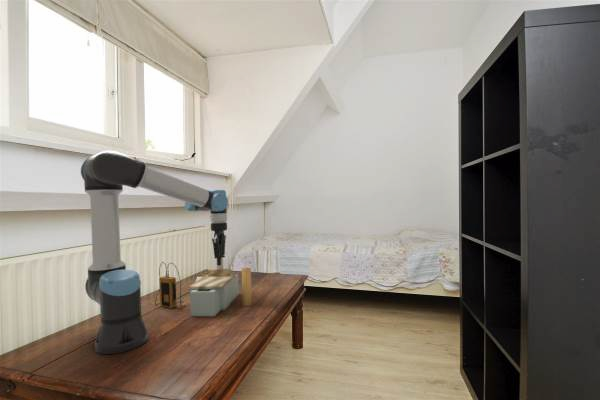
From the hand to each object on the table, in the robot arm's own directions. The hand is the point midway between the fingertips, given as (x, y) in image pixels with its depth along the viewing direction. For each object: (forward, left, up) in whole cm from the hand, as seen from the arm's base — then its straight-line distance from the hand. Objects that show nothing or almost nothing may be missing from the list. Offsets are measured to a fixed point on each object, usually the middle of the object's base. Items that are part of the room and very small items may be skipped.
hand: (220, 271), depth 145 cm
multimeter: (-19, -8, -13) cm, 24 cm away
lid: (0, -9, -2) cm, 9 cm away
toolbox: (0, -9, -13) cm, 15 cm away
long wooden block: (+15, -9, -13) cm, 22 cm away
